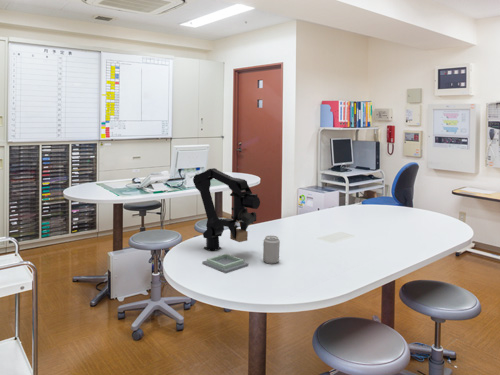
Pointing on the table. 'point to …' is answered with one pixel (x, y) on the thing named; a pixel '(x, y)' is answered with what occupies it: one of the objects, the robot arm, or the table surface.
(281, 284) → the table surface
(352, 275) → the table surface
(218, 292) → the table surface
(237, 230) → the brown rectangular block
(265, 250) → the can
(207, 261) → the grey tray
